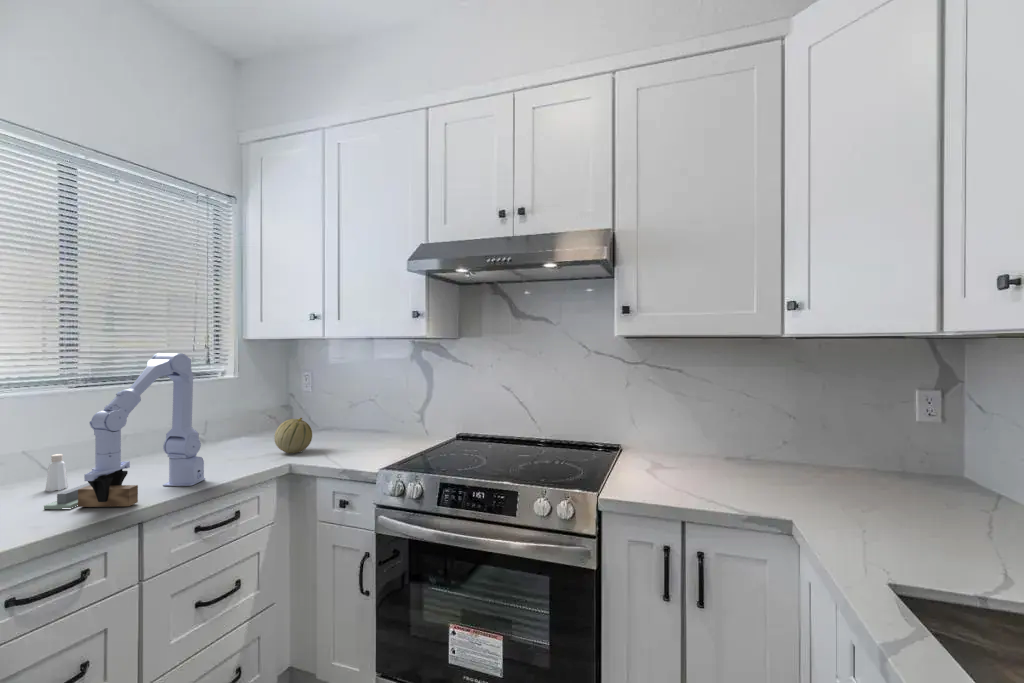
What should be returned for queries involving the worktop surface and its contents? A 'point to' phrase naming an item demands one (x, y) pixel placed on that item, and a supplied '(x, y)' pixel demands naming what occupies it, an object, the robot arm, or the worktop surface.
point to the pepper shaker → (56, 474)
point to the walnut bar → (109, 496)
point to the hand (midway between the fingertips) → (108, 499)
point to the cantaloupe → (293, 436)
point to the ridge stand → (66, 499)
